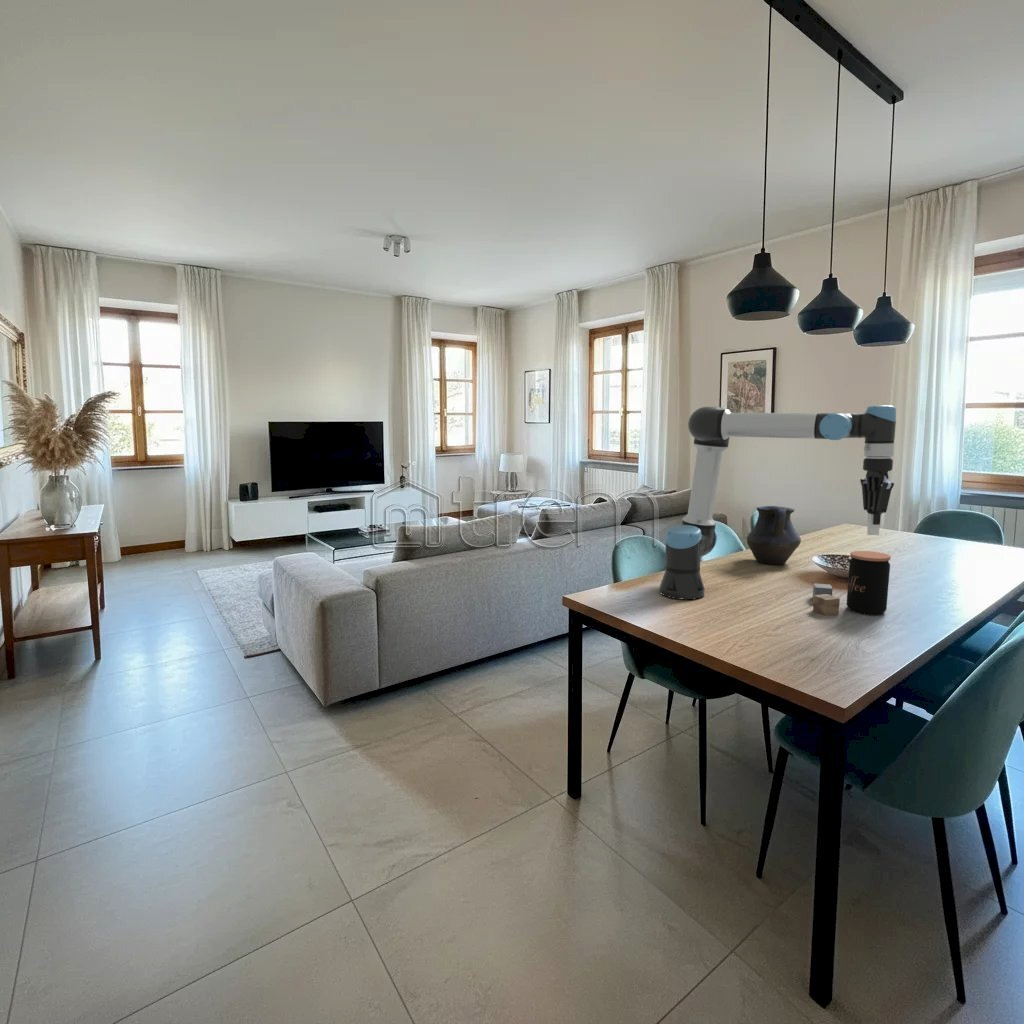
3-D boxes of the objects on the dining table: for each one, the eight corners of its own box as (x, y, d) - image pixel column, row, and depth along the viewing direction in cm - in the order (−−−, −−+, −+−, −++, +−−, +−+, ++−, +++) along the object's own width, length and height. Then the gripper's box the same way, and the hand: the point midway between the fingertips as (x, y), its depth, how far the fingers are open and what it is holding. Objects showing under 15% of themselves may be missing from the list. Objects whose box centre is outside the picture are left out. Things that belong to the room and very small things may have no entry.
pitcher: (791, 557, 250) (794, 501, 246) (806, 569, 229) (810, 508, 225) (741, 556, 254) (744, 500, 250) (752, 568, 233) (755, 507, 229)
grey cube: (812, 597, 194) (813, 583, 193) (829, 599, 192) (830, 584, 191) (814, 601, 189) (815, 587, 188) (831, 603, 187) (832, 588, 186)
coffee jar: (841, 604, 186) (845, 550, 183) (877, 606, 183) (882, 551, 181) (853, 615, 175) (857, 557, 172) (892, 616, 173) (897, 558, 170)
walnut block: (812, 610, 180) (813, 595, 180) (826, 609, 182) (827, 593, 181) (825, 615, 176) (826, 599, 175) (838, 614, 177) (839, 598, 176)
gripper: (853, 456, 179) (848, 531, 182) (878, 459, 166) (873, 538, 169) (877, 456, 178) (872, 530, 182) (905, 458, 166) (899, 538, 169)
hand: (873, 534), depth 175 cm, fingers closed
